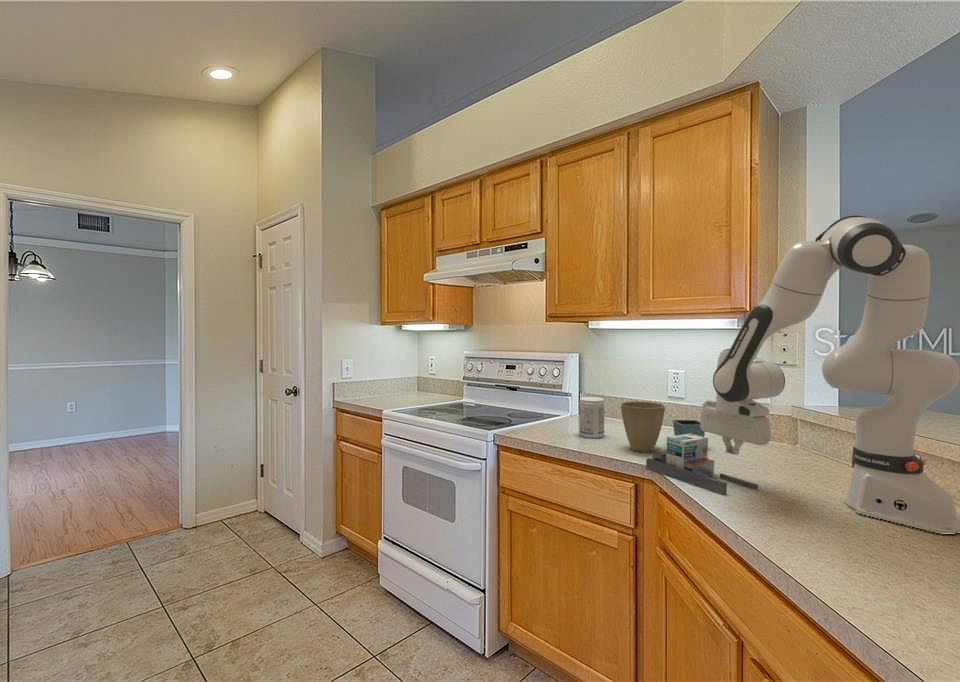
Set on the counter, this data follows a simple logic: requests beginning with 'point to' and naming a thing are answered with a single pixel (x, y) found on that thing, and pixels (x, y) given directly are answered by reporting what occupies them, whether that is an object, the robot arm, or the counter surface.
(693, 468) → the block
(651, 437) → the plant pot
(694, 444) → the light bulb box
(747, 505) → the counter surface
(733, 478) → the vise base
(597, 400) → the supplement tub
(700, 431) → the flower pot
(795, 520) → the counter surface
